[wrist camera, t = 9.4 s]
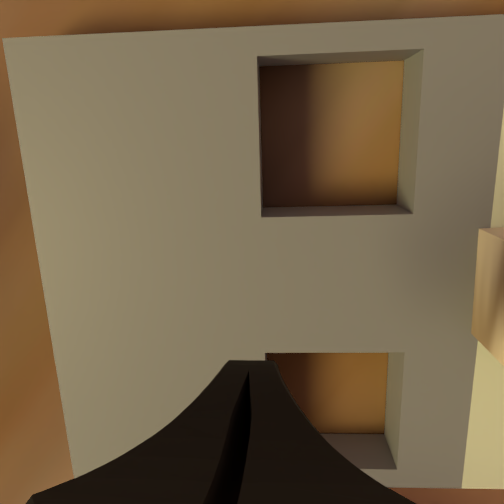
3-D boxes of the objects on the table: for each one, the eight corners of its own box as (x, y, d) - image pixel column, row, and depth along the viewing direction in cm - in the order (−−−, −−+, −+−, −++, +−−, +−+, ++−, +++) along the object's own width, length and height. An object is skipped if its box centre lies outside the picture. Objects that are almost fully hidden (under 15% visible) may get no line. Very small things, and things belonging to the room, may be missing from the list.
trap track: (571, 452, 22) (633, 518, 18) (95, 447, 24) (60, 507, 20) (651, 22, 17) (759, -11, 13) (37, 50, 19) (-25, 28, 15)
